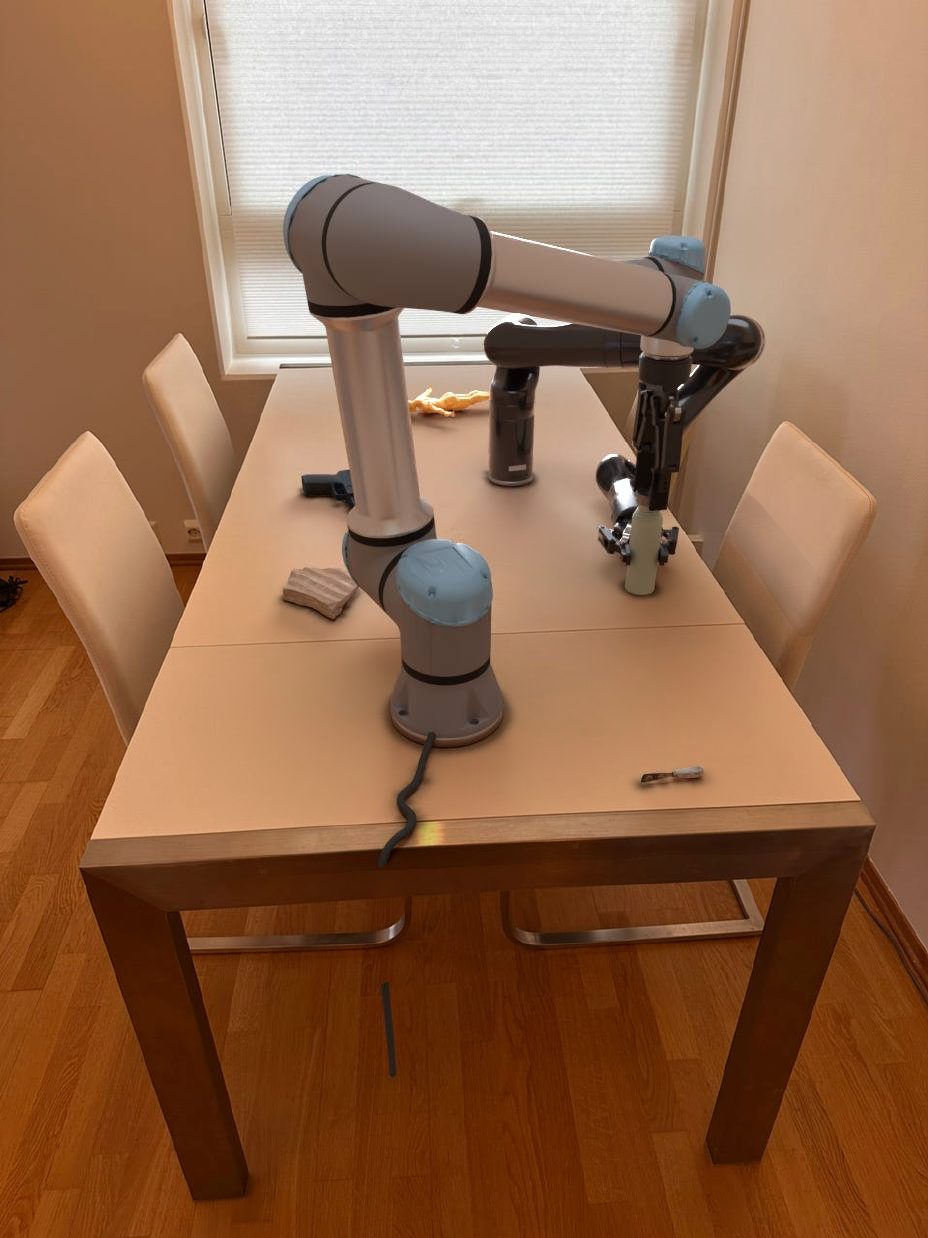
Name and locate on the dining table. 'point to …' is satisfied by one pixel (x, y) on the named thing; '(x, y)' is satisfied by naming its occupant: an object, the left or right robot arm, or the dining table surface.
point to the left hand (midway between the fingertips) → (649, 499)
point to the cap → (643, 495)
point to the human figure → (446, 402)
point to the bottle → (644, 550)
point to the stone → (320, 589)
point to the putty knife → (674, 774)
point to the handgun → (330, 486)
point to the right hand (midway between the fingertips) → (645, 560)
